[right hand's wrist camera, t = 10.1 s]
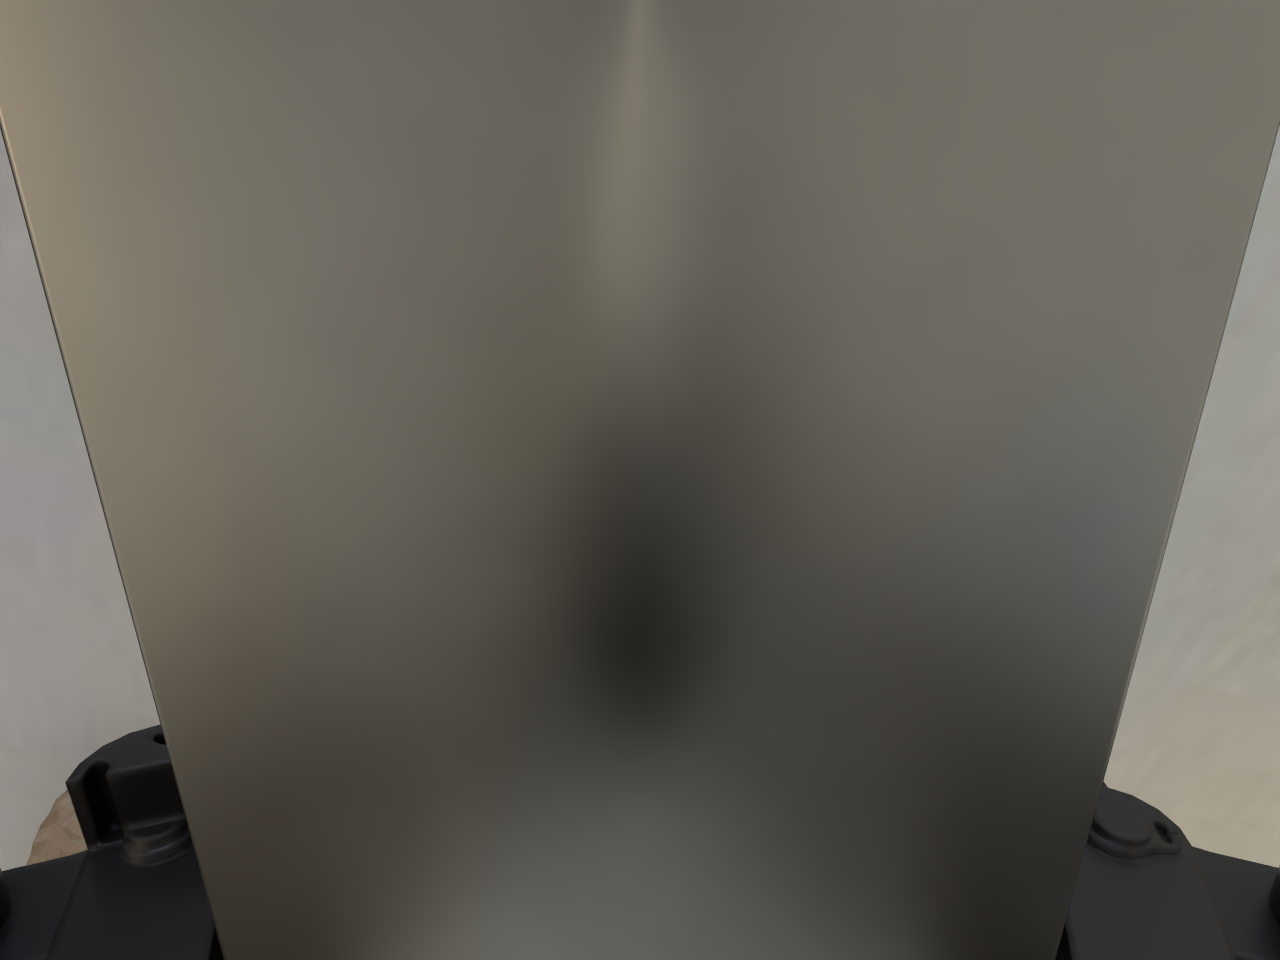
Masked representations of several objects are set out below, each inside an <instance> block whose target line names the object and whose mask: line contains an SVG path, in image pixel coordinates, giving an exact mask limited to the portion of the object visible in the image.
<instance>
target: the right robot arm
mask: <svg viewBox="0 0 1280 960" xmlns="http://www.w3.org/2000/svg"><path fill="white" fill-rule="evenodd" d="M65 783H66V786H67V789H68V792H69V795H70V798H71V801H72V804H73V807H74V810H75V813H76V816H77V819H78V822H79V825H80V828H81V831H82V834H83V837H84V840H85V843H86V846H87V850H86V851H82V852H79V853H76V854H73V855H69V856H65V857H61V858H56V859H52V860H48V861H44V862H39V863H35V864H31V865H27V866H23V867H18V868H14V869H10V870H6V871H1V869H0V960H224V958H223V954H222V951H221V947H220V943H219V940H218V936H217V932H216V928H215V925H214V921H213V917H212V913H211V910H210V906H209V902H208V899H207V895H206V891H205V887H204V884H203V880H202V876H201V873H200V869H199V865H198V861H197V858H196V854H195V850H194V847H193V843H192V839H191V835H190V832H189V828H188V824H187V821H186V817H185V813H184V809H183V806H182V802H181V798H180V794H179V791H178V787H177V783H176V780H175V776H174V772H173V768H172V765H171V761H170V757H169V754H168V750H167V746H166V742H165V739H164V735H163V731H162V728H161V725H157V726H154V727H150V728H146V729H143V730H139V731H136V732H132V733H129V734H127V735H125V736H123V737H121V738H119V739H117V740H115V741H113V742H111V743H108V744H106V745H104V746H102V747H101V748H100V749H98V750H97V751H96V752H94V753H93V754H92V755H90V756H89V757H88V758H86V759H85V760H84V761H82V762H81V763H80V764H79V765H78V766H77V768H76V769H75V770H74V772H73V773H72V774H71V776H70V777H69V778H68V780H67V781H66V782H65ZM1055 960H1280V867H1279V868H1276V867H1272V866H1268V865H1264V864H1259V863H1255V862H1251V861H1246V860H1242V859H1238V858H1234V857H1229V856H1225V855H1221V854H1217V853H1212V852H1209V851H1205V850H1202V849H1199V848H1196V847H1192V846H1191V844H1190V843H1189V841H1188V840H1187V838H1186V837H1185V835H1184V834H1183V832H1182V831H1181V829H1180V828H1179V827H1178V826H1177V825H1176V824H1175V823H1173V822H1172V821H1171V820H1170V819H1169V818H1168V817H1166V816H1165V815H1164V814H1163V813H1162V812H1161V811H1159V810H1158V809H1156V808H1155V807H1153V806H1151V805H1149V804H1147V803H1145V802H1143V801H1142V800H1140V799H1138V798H1136V797H1134V796H1132V795H1130V794H1126V793H1123V792H1120V791H1117V790H1114V789H1110V788H1108V787H1107V786H1106V784H1105V783H1104V782H1103V784H1102V787H1101V791H1100V795H1099V798H1098V802H1097V806H1096V810H1095V813H1094V817H1093V821H1092V825H1091V828H1090V832H1089V836H1088V839H1087V843H1086V847H1085V851H1084V854H1083V858H1082V862H1081V866H1080V869H1079V873H1078V877H1077V880H1076V884H1075V888H1074V892H1073V895H1072V899H1071V903H1070V906H1069V910H1068V914H1067V918H1066V921H1065V925H1064V929H1063V933H1062V936H1061V940H1060V944H1059V947H1058V951H1057V955H1056V959H1055Z"/></svg>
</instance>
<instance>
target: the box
mask: <svg viewBox="0 0 1280 960" xmlns="http://www.w3.org/2000/svg"><path fill="white" fill-rule="evenodd" d="M1279 125H1280V0H0V129H1V132H2V136H3V140H4V144H5V147H6V151H7V155H8V158H9V162H10V166H11V170H12V173H13V177H14V181H15V184H16V188H17V192H18V196H19V199H20V203H21V207H22V211H23V214H24V218H25V222H26V225H27V229H28V233H29V237H30V240H31V244H32V248H33V251H34V255H35V259H36V263H37V266H38V270H39V274H40V277H41V281H42V285H43V289H44V292H45V296H46V300H47V304H48V307H49V311H50V315H51V318H52V322H53V326H54V330H55V333H56V337H57V341H58V344H59V348H60V352H61V356H62V359H63V363H64V367H65V370H66V374H67V378H68V382H69V385H70V389H71V393H72V396H73V400H74V404H75V408H76V411H77V415H78V419H79V423H80V426H81V430H82V434H83V437H84V441H85V445H86V449H87V452H88V456H89V460H90V463H91V467H92V471H93V475H94V478H95V482H96V486H97V489H98V493H99V497H100V501H101V504H102V508H103V512H104V516H105V519H106V523H107V527H108V530H109V534H110V538H111V542H112V545H113V549H114V553H115V556H116V560H117V564H118V568H119V571H120V575H121V579H122V582H123V586H124V590H125V594H126V597H127V601H128V605H129V608H130V612H131V616H132V620H133V623H134V627H135V631H136V635H137V638H138V642H139V646H140V649H141V653H142V657H143V661H144V664H145V668H146V672H147V675H148V679H149V683H150V687H151V690H152V694H153V698H154V701H155V705H156V709H157V713H158V716H159V720H160V724H161V728H162V731H163V735H164V739H165V742H166V746H167V750H168V754H169V757H170V761H171V765H172V768H173V772H174V776H175V780H176V783H177V787H178V791H179V794H180V798H181V802H182V806H183V809H184V813H185V817H186V821H187V824H188V828H189V832H190V835H191V839H192V843H193V847H194V850H195V854H196V858H197V861H198V865H199V869H200V873H201V876H202V880H203V884H204V887H205V891H206V895H207V899H208V902H209V906H210V910H211V913H212V917H213V921H214V925H215V928H216V932H217V936H218V940H219V943H220V947H221V951H222V954H223V958H224V960H1055V959H1056V955H1057V951H1058V947H1059V944H1060V940H1061V936H1062V933H1063V929H1064V925H1065V921H1066V918H1067V914H1068V910H1069V906H1070V903H1071V899H1072V895H1073V892H1074V888H1075V884H1076V880H1077V877H1078V873H1079V869H1080V866H1081V862H1082V858H1083V854H1084V851H1085V847H1086V843H1087V839H1088V836H1089V832H1090V828H1091V825H1092V821H1093V817H1094V813H1095V810H1096V806H1097V802H1098V798H1099V795H1100V791H1101V787H1102V784H1103V780H1104V776H1105V772H1106V769H1107V765H1108V761H1109V758H1110V754H1111V750H1112V746H1113V743H1114V739H1115V735H1116V731H1117V728H1118V724H1119V720H1120V717H1121V713H1122V709H1123V705H1124V702H1125V698H1126V694H1127V691H1128V687H1129V683H1130V679H1131V676H1132V672H1133V668H1134V664H1135V661H1136V657H1137V653H1138V650H1139V646H1140V642H1141V638H1142V635H1143V631H1144V627H1145V624H1146V620H1147V616H1148V612H1149V609H1150V605H1151V601H1152V597H1153V594H1154V590H1155V586H1156V583H1157V579H1158V575H1159V571H1160V568H1161V564H1162V560H1163V557H1164V553H1165V549H1166V545H1167V542H1168V538H1169V534H1170V530H1171V527H1172V523H1173V519H1174V516H1175V512H1176V508H1177V504H1178V501H1179V497H1180V493H1181V490H1182V486H1183V482H1184V478H1185V475H1186V471H1187V467H1188V463H1189V460H1190V456H1191V452H1192V449H1193V445H1194V441H1195V437H1196V434H1197V430H1198V426H1199V422H1200V419H1201V415H1202V411H1203V408H1204V404H1205V400H1206V396H1207V393H1208V389H1209V385H1210V382H1211V378H1212V374H1213V370H1214V367H1215V363H1216V359H1217V355H1218V352H1219V348H1220V344H1221V341H1222V337H1223V333H1224V329H1225V326H1226V322H1227V318H1228V315H1229V311H1230V307H1231V303H1232V300H1233V296H1234V292H1235V288H1236V285H1237V281H1238V277H1239V274H1240V270H1241V266H1242V262H1243V259H1244V255H1245V251H1246V248H1247V244H1248V240H1249V236H1250V233H1251V229H1252V225H1253V221H1254V218H1255V214H1256V210H1257V207H1258V203H1259V199H1260V195H1261V192H1262V188H1263V184H1264V181H1265V177H1266V173H1267V169H1268V166H1269V162H1270V158H1271V154H1272V151H1273V147H1274V143H1275V140H1276V136H1277V132H1278V128H1279Z"/></svg>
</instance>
